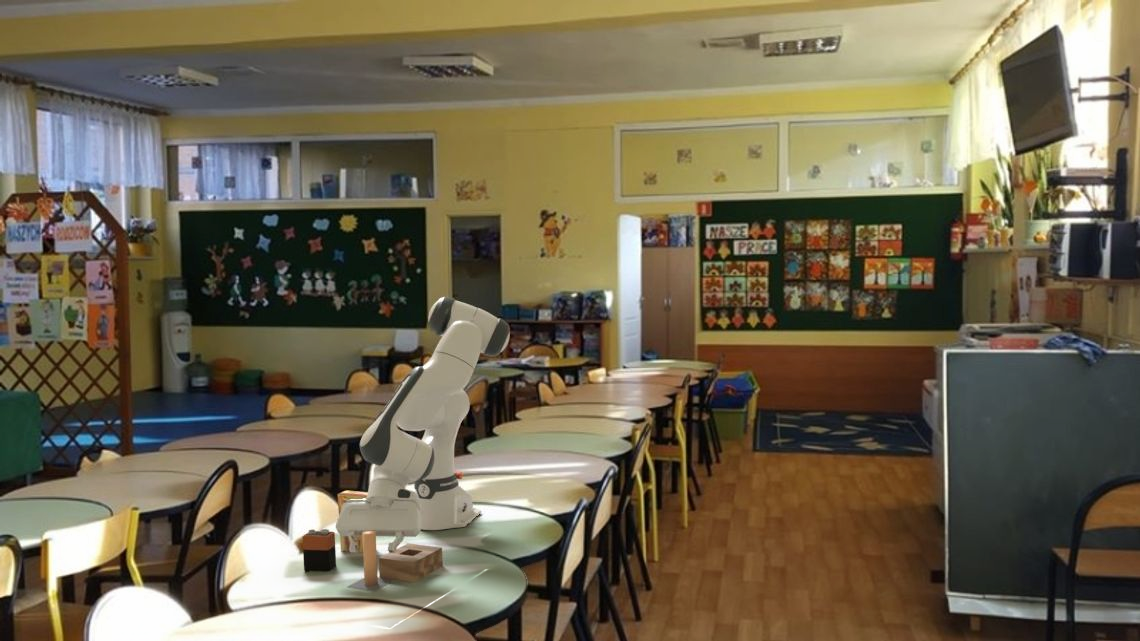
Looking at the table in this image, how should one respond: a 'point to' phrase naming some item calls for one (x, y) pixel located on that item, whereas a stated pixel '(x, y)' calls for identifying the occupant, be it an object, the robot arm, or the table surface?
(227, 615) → the table surface
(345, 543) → the candy box
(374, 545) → the peg
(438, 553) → the hole block
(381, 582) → the mat
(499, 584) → the table surface
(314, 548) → the battery
